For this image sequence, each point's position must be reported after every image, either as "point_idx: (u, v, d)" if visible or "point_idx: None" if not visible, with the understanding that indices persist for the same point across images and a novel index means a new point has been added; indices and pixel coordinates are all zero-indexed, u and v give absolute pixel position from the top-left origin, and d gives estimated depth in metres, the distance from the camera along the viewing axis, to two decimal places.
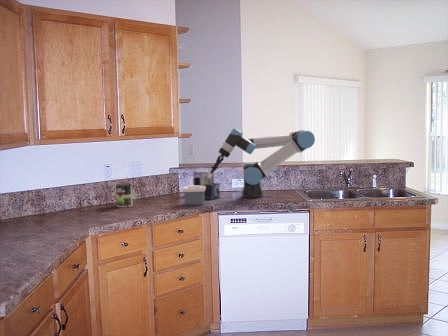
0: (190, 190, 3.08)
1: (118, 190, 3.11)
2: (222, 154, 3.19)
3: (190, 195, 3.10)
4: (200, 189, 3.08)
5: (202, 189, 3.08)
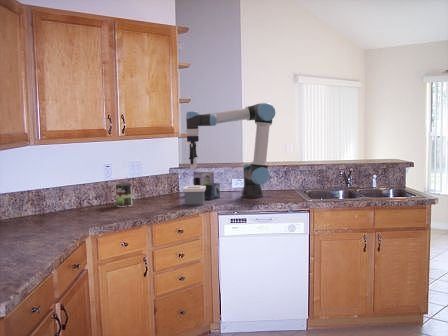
0: (190, 190, 3.08)
1: (118, 190, 3.11)
2: (191, 141, 3.07)
3: (190, 195, 3.10)
4: (200, 189, 3.08)
5: (202, 189, 3.08)
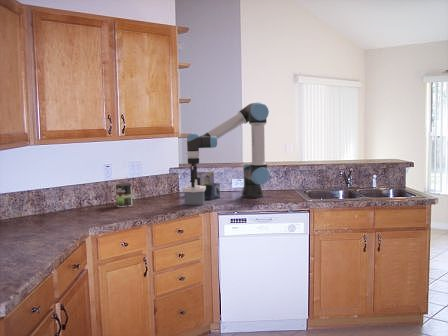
0: (190, 190, 3.08)
1: (118, 190, 3.11)
2: (192, 163, 3.08)
3: (190, 195, 3.10)
4: (200, 189, 3.08)
5: (202, 189, 3.08)
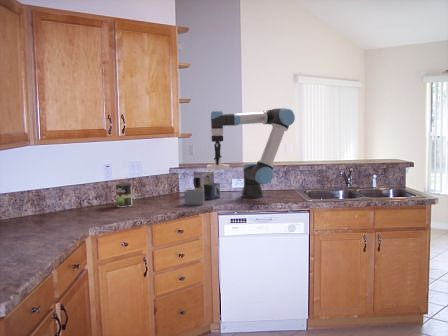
0: (214, 168, 3.06)
1: (118, 190, 3.11)
2: (216, 141, 3.06)
3: (190, 195, 3.10)
4: (224, 167, 3.05)
5: (226, 167, 3.05)
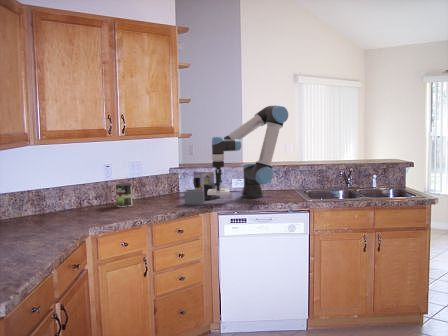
0: (215, 193, 3.07)
1: (118, 190, 3.11)
2: (217, 167, 3.08)
3: (190, 195, 3.10)
4: (225, 192, 3.07)
5: (227, 192, 3.07)
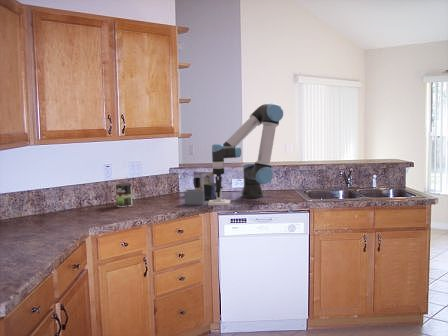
0: (215, 204, 3.08)
1: (118, 190, 3.11)
2: (217, 174, 3.08)
3: (190, 195, 3.10)
4: (226, 203, 3.08)
5: (228, 203, 3.08)
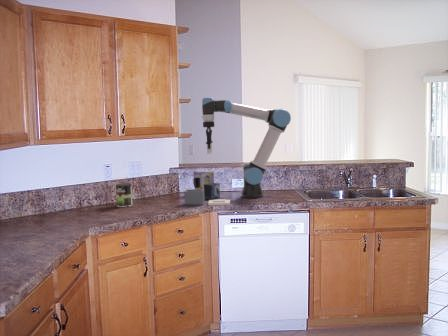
0: (216, 204, 3.08)
1: (118, 190, 3.11)
2: (208, 126, 3.17)
3: (190, 195, 3.10)
4: (226, 203, 3.08)
5: (228, 203, 3.08)
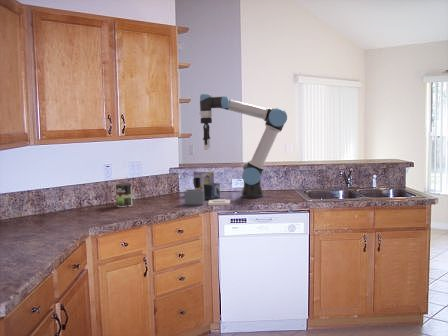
0: (216, 204, 3.08)
1: (118, 190, 3.11)
2: (205, 122, 3.19)
3: (190, 195, 3.10)
4: (226, 203, 3.08)
5: (228, 203, 3.08)
